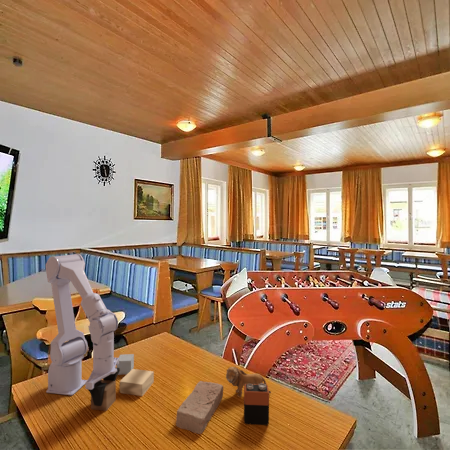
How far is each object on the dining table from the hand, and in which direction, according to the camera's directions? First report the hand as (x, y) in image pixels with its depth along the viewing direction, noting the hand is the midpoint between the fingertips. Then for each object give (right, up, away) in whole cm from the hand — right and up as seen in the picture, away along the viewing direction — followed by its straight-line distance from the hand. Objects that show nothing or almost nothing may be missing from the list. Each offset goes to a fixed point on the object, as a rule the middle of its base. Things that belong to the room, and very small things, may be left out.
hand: (103, 399), depth 87 cm
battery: (+46, -2, -6) cm, 46 cm away
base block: (+7, -2, +9) cm, 12 cm away
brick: (+30, -3, -3) cm, 30 cm away
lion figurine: (+44, -2, +5) cm, 44 cm away
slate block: (0, -1, +19) cm, 19 cm away
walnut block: (0, -2, 0) cm, 2 cm away
